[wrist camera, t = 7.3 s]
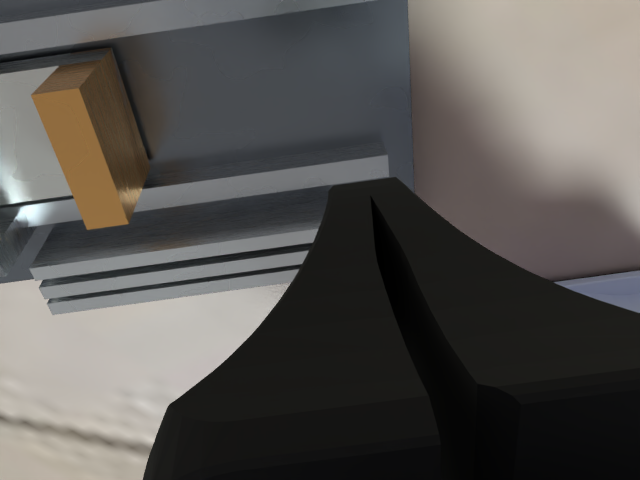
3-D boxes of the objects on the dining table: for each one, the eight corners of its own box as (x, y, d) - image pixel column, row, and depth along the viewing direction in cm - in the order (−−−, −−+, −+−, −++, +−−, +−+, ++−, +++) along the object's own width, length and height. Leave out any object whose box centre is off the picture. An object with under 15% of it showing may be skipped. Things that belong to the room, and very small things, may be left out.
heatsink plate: (393, -160, 16) (425, -162, 13) (409, 209, 23) (432, 273, 19) (-175, -76, 16) (-293, -55, 13) (7, 265, 23) (-39, 337, 20)
